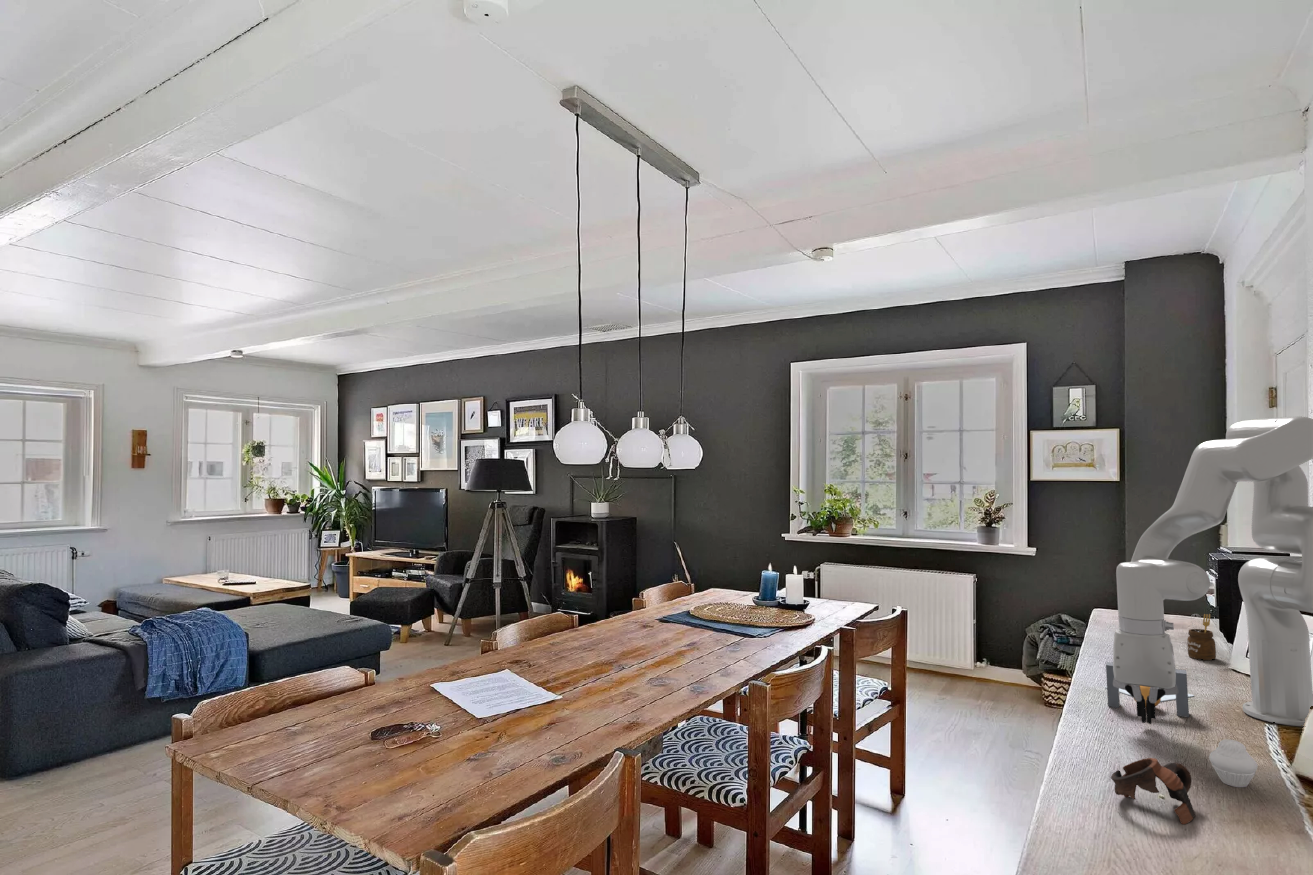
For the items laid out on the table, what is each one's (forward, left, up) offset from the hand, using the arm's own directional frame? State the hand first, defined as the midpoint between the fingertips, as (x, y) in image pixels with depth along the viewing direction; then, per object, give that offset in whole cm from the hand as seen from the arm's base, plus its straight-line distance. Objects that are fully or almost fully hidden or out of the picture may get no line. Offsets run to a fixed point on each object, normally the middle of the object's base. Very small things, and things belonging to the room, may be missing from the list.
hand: (1146, 721), depth 143 cm
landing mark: (-21, -17, -2) cm, 27 cm away
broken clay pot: (+28, +25, -2) cm, 37 cm away
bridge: (-10, -8, -2) cm, 13 cm away
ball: (-11, -9, +1) cm, 15 cm away
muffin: (+10, +23, -2) cm, 25 cm away
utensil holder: (-59, -32, -2) cm, 68 cm away
